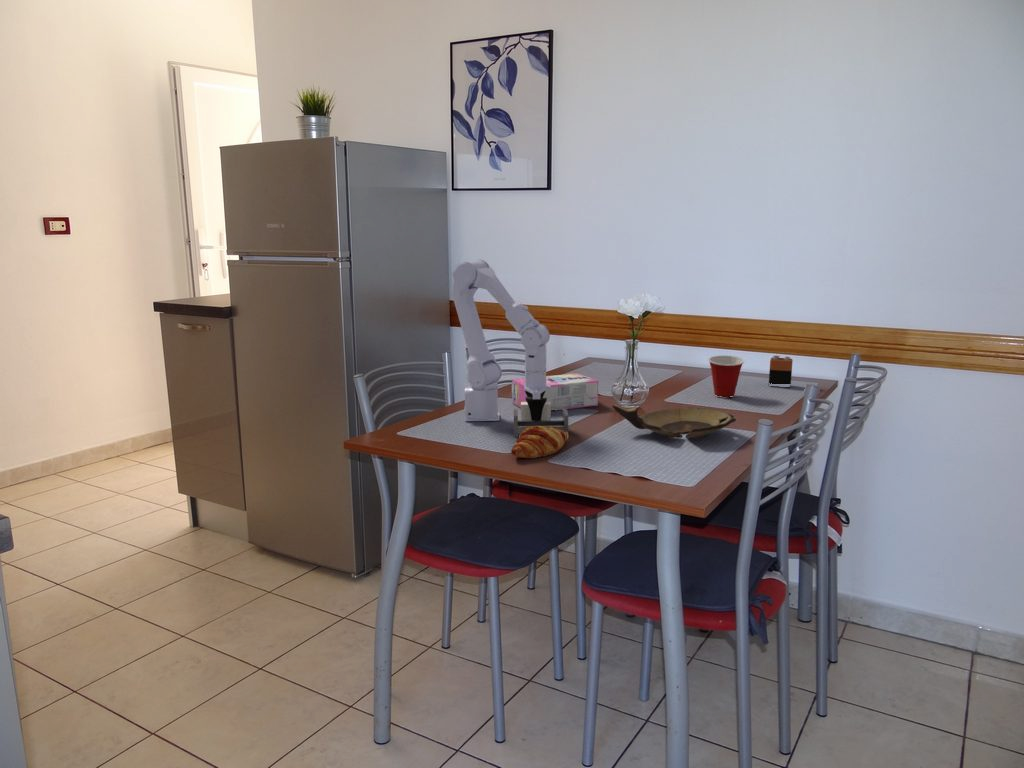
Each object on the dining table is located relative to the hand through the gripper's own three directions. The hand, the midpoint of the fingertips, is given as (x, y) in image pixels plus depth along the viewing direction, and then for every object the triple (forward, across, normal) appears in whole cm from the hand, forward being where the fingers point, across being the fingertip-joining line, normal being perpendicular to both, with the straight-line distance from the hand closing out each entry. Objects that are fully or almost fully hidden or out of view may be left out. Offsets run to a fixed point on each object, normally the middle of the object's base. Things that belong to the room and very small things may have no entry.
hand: (535, 419), depth 214 cm
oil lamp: (+2, -10, -36) cm, 37 cm away
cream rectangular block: (+2, 0, 0) cm, 2 cm away
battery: (+2, +45, -82) cm, 94 cm away
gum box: (-3, +15, -9) cm, 18 cm away
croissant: (+2, -25, -1) cm, 25 cm away
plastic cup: (+2, +31, -60) cm, 68 cm away
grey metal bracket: (+1, -9, -1) cm, 9 cm away
